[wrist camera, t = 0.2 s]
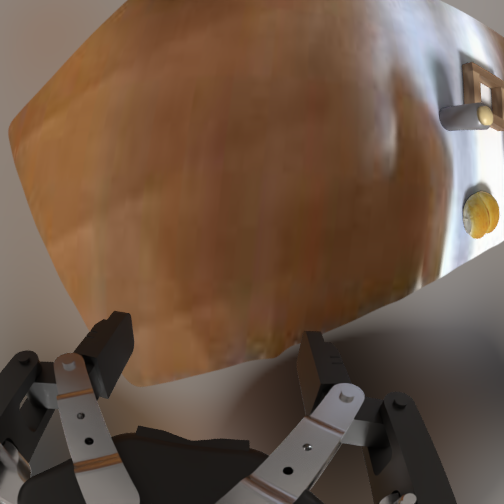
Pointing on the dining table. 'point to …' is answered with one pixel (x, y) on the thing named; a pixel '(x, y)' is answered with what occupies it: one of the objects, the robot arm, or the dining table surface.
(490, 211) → the bread roll
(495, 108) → the socket
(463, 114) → the plug
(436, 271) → the dining table surface
